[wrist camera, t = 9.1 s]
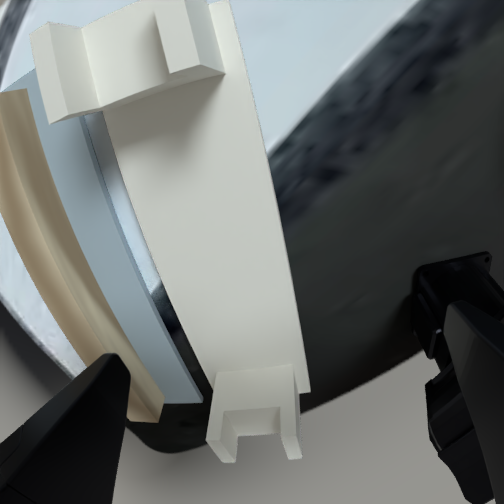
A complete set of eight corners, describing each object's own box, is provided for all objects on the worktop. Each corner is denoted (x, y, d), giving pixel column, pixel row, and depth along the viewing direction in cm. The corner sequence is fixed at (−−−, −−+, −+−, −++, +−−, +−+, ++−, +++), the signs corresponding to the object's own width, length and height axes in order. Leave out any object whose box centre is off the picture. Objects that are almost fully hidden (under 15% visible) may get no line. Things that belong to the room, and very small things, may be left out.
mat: (67, 51, 14) (62, 51, 13) (203, 397, 28) (202, 402, 27) (-24, 114, 15) (-29, 116, 15) (116, 397, 29) (115, 401, 29)
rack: (230, 4, 13) (204, -48, 6) (309, 381, 26) (316, 456, 19) (97, 51, 14) (12, 47, 8) (220, 390, 27) (210, 462, 21)
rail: (26, 88, 14) (-4, 93, 12) (165, 397, 27) (158, 422, 25) (-1, 107, 15) (-30, 115, 12) (138, 396, 28) (130, 421, 25)
